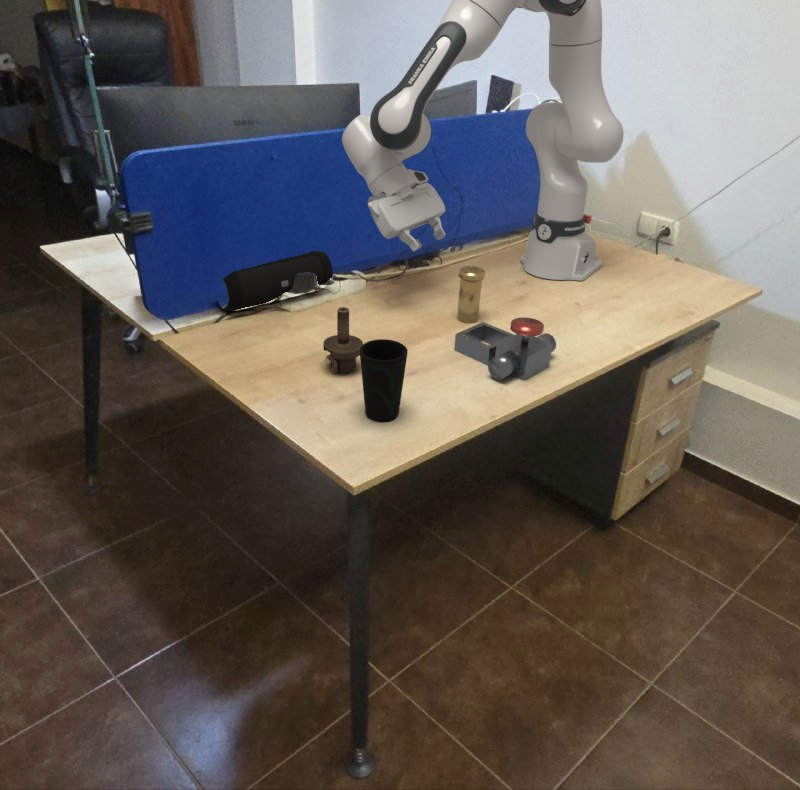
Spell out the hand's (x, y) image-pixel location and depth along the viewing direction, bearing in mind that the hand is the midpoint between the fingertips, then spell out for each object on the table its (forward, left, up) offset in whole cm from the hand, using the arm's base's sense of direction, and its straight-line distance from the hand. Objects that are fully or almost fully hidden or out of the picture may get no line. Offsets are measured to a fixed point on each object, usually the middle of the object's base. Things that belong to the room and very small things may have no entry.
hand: (430, 243), depth 149 cm
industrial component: (+32, +10, -15) cm, 36 cm away
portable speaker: (+23, -25, -15) cm, 37 cm away
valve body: (+7, +27, -14) cm, 31 cm away
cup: (+38, +25, -15) cm, 48 cm away
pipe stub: (-2, +10, -14) cm, 18 cm away
